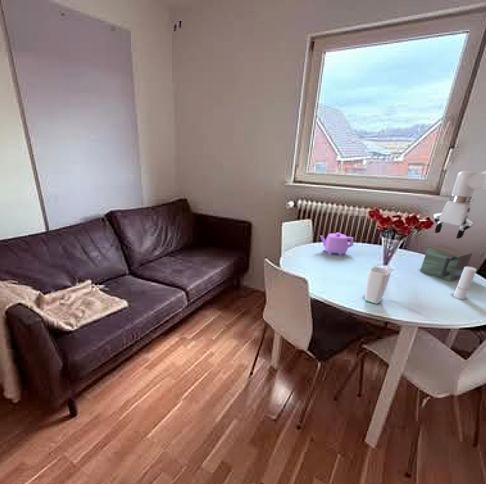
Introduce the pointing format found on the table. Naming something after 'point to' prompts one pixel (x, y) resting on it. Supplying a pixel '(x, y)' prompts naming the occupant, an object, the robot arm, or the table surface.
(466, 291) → the tube
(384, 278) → the cup
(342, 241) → the teapot
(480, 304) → the table surface
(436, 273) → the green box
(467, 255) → the cupboard
